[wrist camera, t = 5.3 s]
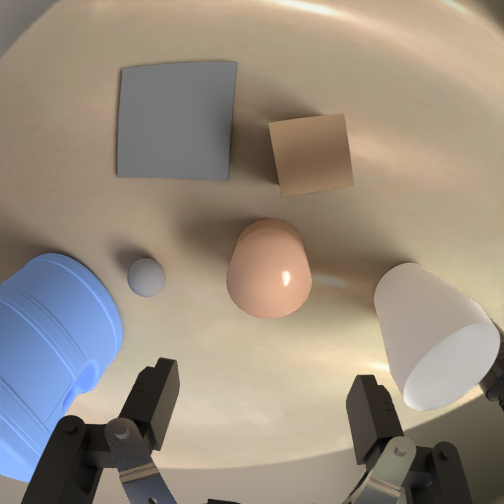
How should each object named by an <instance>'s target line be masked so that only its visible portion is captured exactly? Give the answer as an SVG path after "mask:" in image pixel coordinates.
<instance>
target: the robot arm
mask: <svg viewBox="0 0 504 504" xmlns="http://www.w3.org/2000/svg"><path fill="white" fill-rule="evenodd" d="M179 387H180V382H179V374H178V365H177V361H176V360H173V359H167V358H161V357H160V358H159V359H158V361H157V363H156V366H155V368H154V367H149V366H147V367H146V368H145V369H144V370H143V371H141V372H140V373H139V375H138V377H137V379H136V381H135V383H134V385H133V387H132V390H131V392H130V394H129V396H128V398H127V400H126V402H125V404H124V406H123V408H122V410H121V413H120V415H119V416H118V417H117V418H115V419H113V420H111V421H109V422H108V423H107V424H101V425H100V424H85V423H84V421H83V420H82V419H81V418H79V417H77V416H74V415H68V416H65V417H63V418H61V419H60V420H59V421H58V422H57V424H56V426H55V428H54V430H53V432H52V434H51V436H50V438H49V440H48V442H47V444H46V447H45V449H44V451H43V453H42V455H41V457H40V459H39V462H38V464H37V466H36V468H35V471H34V473H33V475H32V478H31V480H30V482H29V485H28V487H27V490H26V492H25V495H24V497H23V500H22V502H21V504H92V503H93V499H94V496H95V493H96V490H97V486H98V483H99V480H100V477H101V474H102V471H103V468H117V469H118V472H119V474H120V476H119V478H120V481H121V483H122V486H123V488H124V490H125V493H126V495H127V497H128V499H129V501H130V503H131V504H177V502H176V501H175V499H174V497H173V496H172V494H171V492H170V490H169V489H168V487H167V485H166V483H165V482H164V480H163V478H162V476H161V474H160V472H159V470H158V469H157V467H156V465H155V464H154V462H153V460H152V458H151V454H152V451H153V450H157V451H160V450H161V447H162V444H163V440H164V437H165V434H166V431H167V428H168V425H169V422H170V419H171V415H172V412H173V409H174V406H175V403H176V400H177V397H178V394H179ZM392 402H393V401H392V398H391V396H390V393H389V392H388V391H387V389H386V388H385V387H384V386H383V385H377V382H376V379H375V376H374V375H357V376H356V378H355V380H354V382H353V385H352V387H351V389H350V391H349V394H348V396H347V400H346V409H347V414H348V419H349V424H350V429H351V434H352V439H353V444H354V450H355V455H356V460H357V465H361V464H366V470H365V471H364V473H363V474H362V476H361V477H360V479H359V481H358V482H357V484H356V485H355V487H354V488H353V490H352V491H351V492H350V494H349V495H348V497H347V498H346V499H345V501H344V502H343V503H342V504H396V502H397V500H398V499H399V497H400V494H401V491H399V489H400V487H404V488H405V494H406V500H407V504H473V503H472V499H471V495H470V492H469V488H468V484H467V480H466V477H465V473H464V470H463V467H462V464H461V461H460V457H459V454H458V451H457V449H456V447H455V446H454V445H452V444H451V443H449V442H440V443H438V444H437V445H435V447H434V448H428V447H419V446H415V444H414V443H413V441H412V440H410V439H408V438H407V437H405V436H404V434H403V431H402V428H401V425H400V422H399V419H398V416H397V413H396V410H395V407H394V404H393V403H392ZM206 504H240V503H236V502H230V501H222V500H214V499H208V503H206Z"/></svg>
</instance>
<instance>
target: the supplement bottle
mask: <svg viewBox="0 0 504 504" xmlns="http://www.w3.org/2000/svg"><path fill="white" fill-rule="evenodd" d="M492 323H493V324H494V326H495V327H496V328H497V330H498V331H499V334H500V347H499V351H498V354H497V357H496V359H495V361H494V363H493V365H492V366H491V368H490V369H489V371H488V372H487V374H486V375H485V376H484V377H483V379H482V380H481V381H480V382H479V383H478V384H479V386H480V388H481V389H482V391H483V393H484V395H485V396H486V398H487V399H488V400H489V401H492V402H497V401H499V405H500V407H501V408H502V409H503V411H504V332H503V330H502V329H501V328H500V327H499V326H498V325H497V324H496V323H494V322H492Z"/></svg>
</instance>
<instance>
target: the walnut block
mask: <svg viewBox="0 0 504 504" xmlns="http://www.w3.org/2000/svg"><path fill="white" fill-rule="evenodd" d="M268 125H269V131H270V136H271V141H272V147H273V152H274V158H275V163H276V169H277V174H278V180H279V186H280V192H281V197H284V196H290V195H297V194H304V193H311V192H318V191H325V190H332V189H340V188H348V187H354V183H353V174H352V166H351V158H350V151H349V144H348V137H347V131H346V124H345V119H344V114H333V115H323V116H314V117H305V118H297V119H290V120H283V121H277V122H270V123H268Z"/></svg>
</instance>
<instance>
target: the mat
mask: <svg viewBox="0 0 504 504" xmlns="http://www.w3.org/2000/svg"><path fill="white" fill-rule="evenodd" d="M236 70H237V62H185V63H169V64H157V65H148V66H139V67H131V68H124V69H123V72H122V81H121V92H120V105H119V122H118V177H152V178H182V179H202V180H219V181H228V176H229V160H230V146H231V132H232V118H233V105H234V93H235V81H236Z"/></svg>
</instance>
